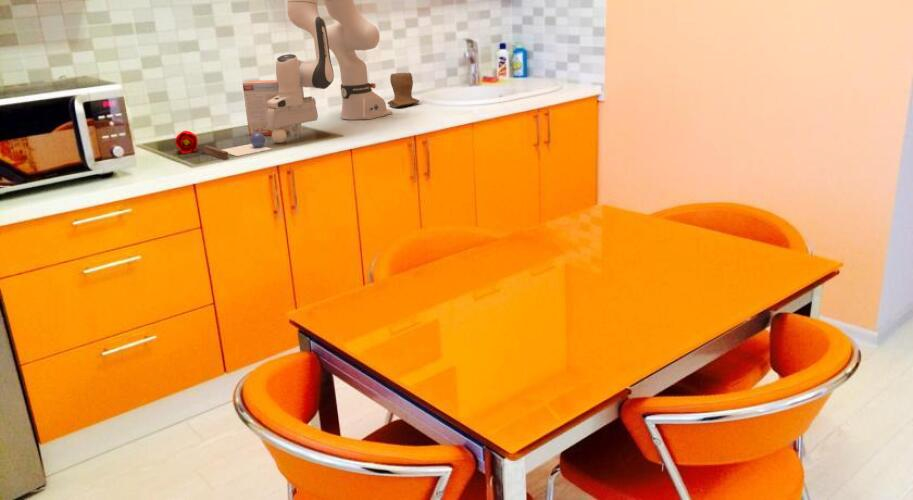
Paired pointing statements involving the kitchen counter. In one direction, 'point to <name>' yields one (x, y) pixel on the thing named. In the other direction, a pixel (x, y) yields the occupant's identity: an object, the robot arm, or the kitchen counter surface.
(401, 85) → the brown flared piece
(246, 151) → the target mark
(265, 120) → the cracker box
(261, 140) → the navy ball
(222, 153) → the rail
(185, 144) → the flower
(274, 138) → the cue ball
